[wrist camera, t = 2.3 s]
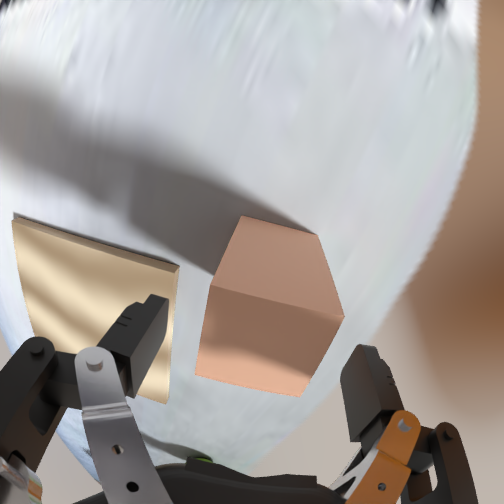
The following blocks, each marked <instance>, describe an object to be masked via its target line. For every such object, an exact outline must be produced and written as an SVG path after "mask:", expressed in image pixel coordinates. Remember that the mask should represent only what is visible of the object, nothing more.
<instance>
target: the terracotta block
mask: <svg viewBox="0 0 504 504" xmlns="http://www.w3.org/2000/svg"><path fill="white" fill-rule="evenodd" d="M344 317H345V316H344V313H343V309H342V306H341V303H340V300H339V297H338V293H337V290H336V287H335V284H334V281H333V278H332V275H331V272H330V269H329V266H328V263H327V260H326V257H325V255H324V252H323V249H322V246H321V243H320V240H319V238H318V235H315V234H311V233H307V232H304V231H300V230H296V229H293V228H289V227H285V226H281V225H277V224H274V223H270V222H266V221H262V220H258V219H254V218H250V217H246V216H242V215H241V217H240V220H239V222H238V224H237V226H236V228H235V231H234V233H233V235H232V237H231V239H230V242H229V244H228V246H227V248H226V250H225V253H224V255H223V257H222V259H221V262H220V264H219V266H218V268H217V271H216V273H215V275H214V277H213V280H212V282H211V284H210V289H209V294H208V299H207V305H206V310H205V316H204V322H203V327H202V333H201V339H200V345H199V351H198V357H197V363H196V369H195V375H198V376H201V377H205V378H209V379H213V380H216V381H220V382H225V383H229V384H233V385H237V386H242V387H246V388H251V389H256V390H261V391H266V392H271V393H277V394H283V395H289V396H295V397H300V396H301V395H302V393H303V391H304V390H305V388H306V387H307V385H308V383H309V382H310V380H311V378H312V376H313V375H314V373H315V371H316V370H317V368H318V366H319V364H320V363H321V361H322V359H323V357H324V355H325V354H326V352H327V350H328V348H329V346H330V344H331V342H332V341H333V339H334V337H335V335H336V333H337V331H338V329H339V327H340V325H341V323H342V321H343V319H344Z"/></svg>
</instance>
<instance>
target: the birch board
mask: <svg viewBox="0 0 504 504" xmlns="http://www.w3.org/2000/svg"><path fill="white" fill-rule="evenodd" d="M12 230H13V239H14V247H15V254H16V260H17V266H18V271H19V277H20V282H21V286H22V291H23V295H24V299H25V303H26V307H27V311H28V315H29V318H30V322H31V325H32V328H33V332H34V335H35V337H37V336H40V337H45V338H47V339H49V340H50V341H51V342H52V343H53V345H54V348H55V350H56V351H61V352H67V353H72V354H78V353H79V352H80V351H81V350H82V349H84V348H87V347H95V346H96V345H97V344H98V343H99V341H100V340H101V339H102V337H103V336H104V335H105V334H106V332H107V331H108V330H109V328H110V327H111V326H112V325H113V323H115V321H116V319H117V318H118V317H119V316H120V314H121V313H122V312H123V311H124V309H125V308H126V307H127V306H129V305H131V304H133V303H135V302H139V303H142V304H143V303H144V302H145V301H146V299H147V298H148V297H149V295H150V294H155V295H158V296H161V297H164V298H168V299H169V311H168V323H167V331H166V335H165V338H164V341H163V343H162V345H161V347H160V349H159V351H158V353H157V355H156V357H155V359H154V360H153V362H152V364H151V366H150V368H149V370H148V372H147V374H146V376H145V378H144V380H143V382H142V384H141V386H140V388H139V390H138V392H137V395H140V396H143V397H145V398H148V399H151V400H154V401H157V402H160V403H163V404H166V403H167V400H168V398H169V379H170V361H171V346H172V333H173V321H174V311H175V301H176V291H177V282H178V274H179V266H177V265H173V264H170V263H166V262H163V261H159V260H156V259H152V258H149V257H145V256H142V255H138V254H135V253H131V252H128V251H125V250H121V249H118V248H114V247H111V246H108V245H104V244H101V243H98V242H95V241H91V240H88V239H85V238H82V237H79V236H75V235H72V234H69V233H66V232H63V231H60V230H57V229H54V228H50V227H47V226H44V225H41V224H38V223H35V222H32V221H29V220H26V219H23V218H21V217H18V218H16V219H14V220H12Z"/></svg>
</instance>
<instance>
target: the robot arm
mask: <svg viewBox="0 0 504 504" xmlns="http://www.w3.org/2000/svg"><path fill="white" fill-rule="evenodd" d="M168 311H169V299H168V298H164V297H161V296H158V295H155V294H150V295H149V297H148V298H147V299H146V301H145V302H144V303H143V304H142V303H139V302H135V303H133V304H131V305H129V306H127V307H126V308H125V309H124V311H123V312H122V313H121V314H120V316H119V317H118V318H117V319H116V321H115V323H113V325H112V326H111V327H110V328H109V330H108V331H107V332H106V334H105V335H104V336H103V337H102V339H101V340H100V341H99V343H98V344H97V345H96V346H95V347H87V348H84V349H82V350H81V351H80V352H79V353H78V354H72V353H67V352H61V351H56V350H55V348H54V345H53V343H52V342H51V341H50V340H49V339H47V338H45V337H40V336H37V337H32V338H29V339H27V340H26V341H25V342H24V343H23V344H22V345H21V346H20V348H19V349H18V350H17V351H16V352H15V354H14V355H13V356H12V357H11V359H10V360H9V361H8V362H7V364H6V365H5V366H4V367H3V369H2V370H1V371H0V504H42V502H41V496H42V484H41V482H40V479H39V478H38V476H37V475H36V474H35V472H36V470H37V468H38V465H39V463H40V461H41V459H42V457H43V455H44V453H45V450H46V448H47V446H48V444H49V442H50V440H51V438H52V436H53V434H54V432H55V430H56V428H57V426H58V425H59V423H60V421H61V419H62V417H63V415H64V413H65V411H66V409H67V408H68V407H69V408H74V409H79V410H82V411H83V412H82V420H83V425H84V429H85V433H86V437H87V441H88V445H89V448H90V452H91V455H92V458H93V462H94V465H95V468H96V471H97V474H98V477H99V480H100V483H101V485H102V488H103V491H102V492H100V493H98V494H96V495H93V496H91V497H88V498H86V499H83V500H81V501H78V502H76V503H73V504H396V502H397V500H398V499H399V497H400V496H401V504H478V499H477V496H476V490H475V486H474V482H473V478H472V474H471V471H470V467H469V464H468V460H467V457H466V454H465V450H464V447H463V444H462V441H461V438H460V435H459V432H458V430H457V429H456V428H455V427H454V426H453V425H452V424H450V423H447V422H442V423H440V424H439V425H438V426H437V427H436V428H435V429H431V428H427V427H424V426H421V425H420V422H419V420H418V418H417V417H416V416H415V415H414V414H413V413H411V412H409V411H406V410H404V407H403V404H402V401H401V398H400V395H399V392H398V390H397V387H396V386H395V381H394V379H393V378H392V377H393V376H392V373H391V370H390V368H389V366H388V365H387V364H386V363H385V361H384V360H383V359H380V356H379V354H378V351H377V349H376V347H374V346H368V345H362V344H359V345H357V346H356V348H355V349H354V351H353V353H352V354H351V356H350V358H349V359H348V361H347V363H346V364H345V366H344V368H343V370H342V372H341V377H340V382H341V388H342V393H343V399H344V404H345V410H346V416H347V422H348V428H349V435H350V442H361V447H360V448H359V449H358V450H357V451H356V453H355V455H354V456H353V457H352V459H351V461H350V462H349V463H348V465H347V466H346V467H345V469H344V470H343V472H342V473H341V474H340V476H339V477H338V478H337V479H336V480H335V482H334V483H332V484H331V485H330V486H329V487H328V488H327V487H325V486H323V485H320V484H317V477H316V476H308V475H290V474H285V475H277V476H269V477H256V478H254V477H250V476H247V475H245V474H242V473H240V472H237V471H235V470H232V469H230V468H227V467H225V466H223V465H220V464H216V463H211V462H207V461H203V460H198V459H195V458H191V457H188V458H187V461H186V463H172V464H164V465H159V466H155V467H154V465H153V463H152V460H151V458H150V456H149V454H148V451H147V449H146V447H145V444H144V442H143V439H142V437H141V434H140V432H139V429H138V427H137V424H136V421H135V419H134V416H133V413H132V411H131V408H130V407H129V406H128V404H127V401H126V398H125V397H126V396H129V397H131V398H135V396H136V394H137V392H138V390H139V388H140V386H141V384H142V382H143V380H144V378H145V376H146V374H147V372H148V370H149V368H150V366H151V364H152V362H153V360H154V359H155V357H156V355H157V353H158V351H159V349H160V347H161V345H162V343H163V341H164V338H165V335H166V331H167V323H168ZM433 465H434V466H435V471H436V475H437V480H438V483H437V487H436V488H435V490H434V491H432V486H431V482H430V476H429V471H428V468H430V467H431V466H433Z"/></svg>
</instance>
